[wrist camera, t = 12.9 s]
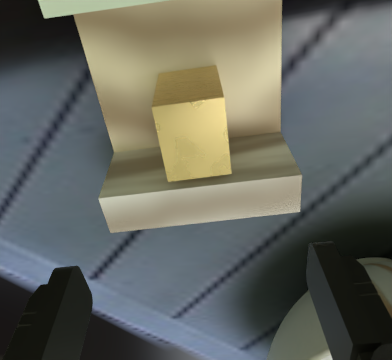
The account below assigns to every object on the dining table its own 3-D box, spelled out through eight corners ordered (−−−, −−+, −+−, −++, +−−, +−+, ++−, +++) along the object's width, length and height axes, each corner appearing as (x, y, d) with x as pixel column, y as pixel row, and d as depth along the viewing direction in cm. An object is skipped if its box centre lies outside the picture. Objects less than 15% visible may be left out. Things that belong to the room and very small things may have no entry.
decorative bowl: (410, 150, 30) (523, 256, 20) (520, 288, 41) (630, 401, 31) (194, 300, 40) (196, 417, 30) (327, 377, 51) (361, 483, 41)
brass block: (158, 73, 24) (151, 107, 19) (216, 65, 24) (224, 97, 19) (171, 137, 27) (168, 182, 22) (223, 130, 27) (231, 173, 22)
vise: (9, -237, 17) (-94, -341, 11) (277, -287, 16) (334, -427, 10) (125, 173, 30) (110, 232, 24) (276, 155, 30) (299, 211, 24)
